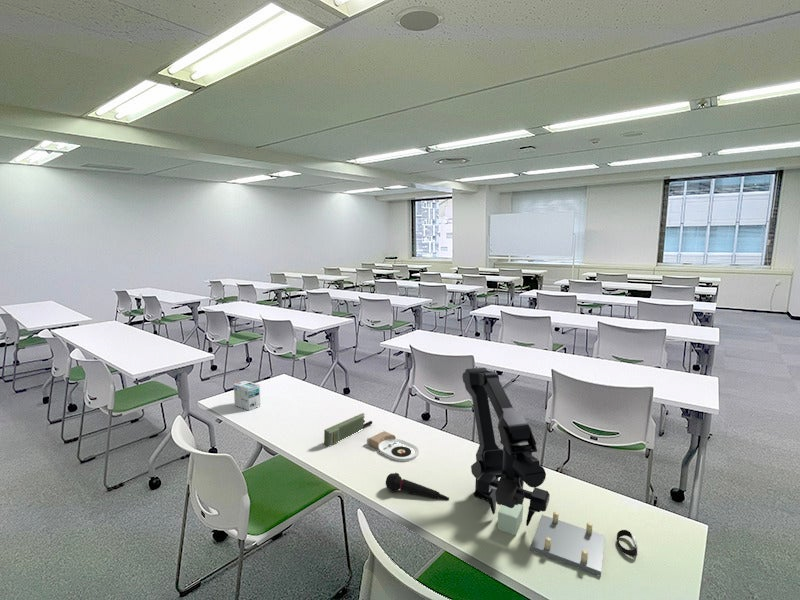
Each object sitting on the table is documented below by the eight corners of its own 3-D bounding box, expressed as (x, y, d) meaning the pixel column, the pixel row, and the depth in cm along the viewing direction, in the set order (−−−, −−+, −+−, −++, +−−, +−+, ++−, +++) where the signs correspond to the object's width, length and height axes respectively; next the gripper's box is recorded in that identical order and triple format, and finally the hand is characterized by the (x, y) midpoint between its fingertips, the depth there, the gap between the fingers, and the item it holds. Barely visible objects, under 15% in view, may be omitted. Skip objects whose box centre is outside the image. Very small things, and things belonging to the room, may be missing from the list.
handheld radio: (322, 445, 156) (368, 423, 175) (328, 448, 154) (374, 426, 173) (323, 428, 155) (369, 408, 174) (328, 431, 153) (374, 411, 172)
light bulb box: (261, 406, 191) (260, 384, 189) (249, 411, 185) (248, 388, 184) (246, 401, 196) (245, 379, 195) (233, 406, 191) (233, 383, 189)
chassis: (530, 550, 103) (531, 536, 103) (541, 518, 115) (542, 506, 115) (600, 576, 96) (602, 561, 95) (604, 539, 108) (606, 526, 107)
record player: (386, 428, 164) (425, 446, 150) (385, 436, 164) (425, 454, 151) (364, 438, 155) (404, 458, 142) (364, 446, 155) (404, 466, 142)
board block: (497, 529, 111) (498, 512, 110) (504, 514, 117) (505, 498, 116) (515, 535, 109) (517, 518, 108) (522, 520, 115) (523, 504, 114)
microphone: (447, 506, 125) (386, 486, 130) (451, 486, 126) (390, 468, 131) (445, 511, 120) (381, 491, 125) (449, 491, 121) (386, 472, 126)
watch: (641, 560, 101) (642, 547, 100) (620, 556, 102) (621, 543, 102) (632, 539, 108) (634, 526, 108) (613, 535, 109) (614, 522, 109)
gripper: (469, 470, 108) (467, 524, 110) (543, 492, 99) (539, 550, 101) (483, 452, 118) (481, 502, 120) (551, 470, 109) (547, 524, 111)
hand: (510, 519), depth 113 cm, fingers open, 9 cm apart
